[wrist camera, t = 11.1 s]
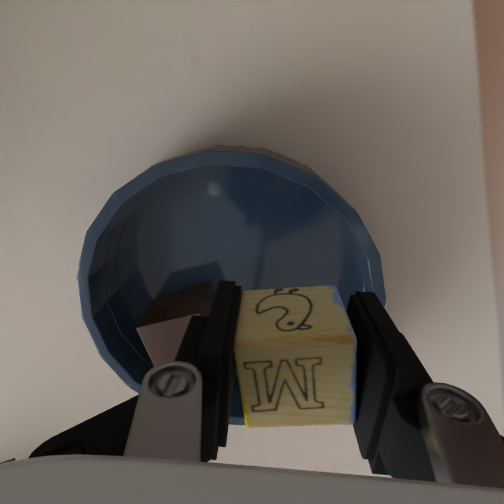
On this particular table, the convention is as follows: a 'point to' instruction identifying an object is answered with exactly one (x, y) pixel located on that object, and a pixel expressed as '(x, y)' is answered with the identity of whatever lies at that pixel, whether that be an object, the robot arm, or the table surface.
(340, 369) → the alphabet block
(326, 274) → the bowl
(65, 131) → the table surface
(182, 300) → the walnut cube
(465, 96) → the table surface
